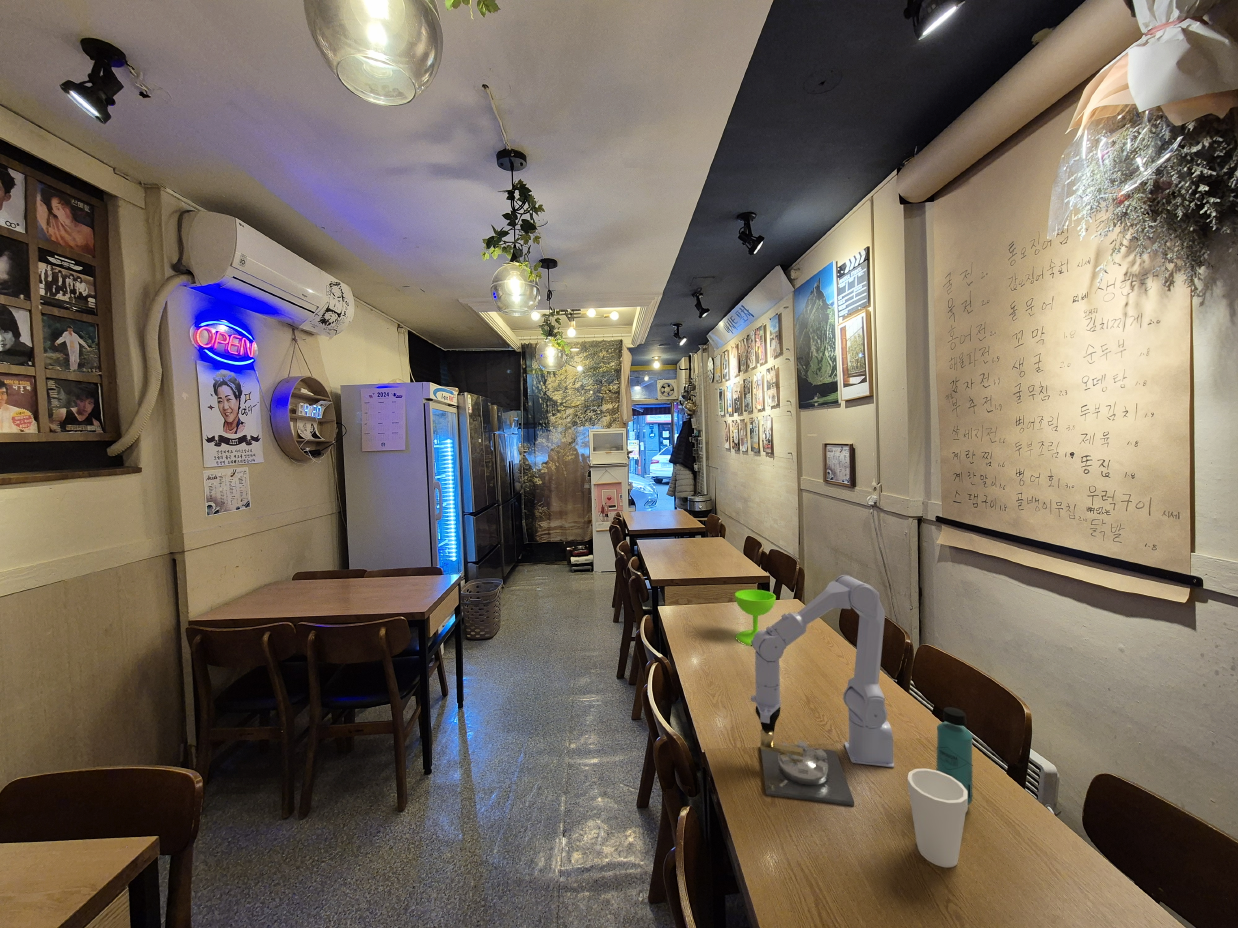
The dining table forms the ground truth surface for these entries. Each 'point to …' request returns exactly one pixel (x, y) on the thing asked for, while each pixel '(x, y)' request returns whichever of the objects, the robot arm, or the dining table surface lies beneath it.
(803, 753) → the metal round piece
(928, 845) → the foam cup
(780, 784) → the dark grey square plate
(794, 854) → the dining table surface
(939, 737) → the beverage bottle
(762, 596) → the wineglass
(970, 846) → the dining table surface
